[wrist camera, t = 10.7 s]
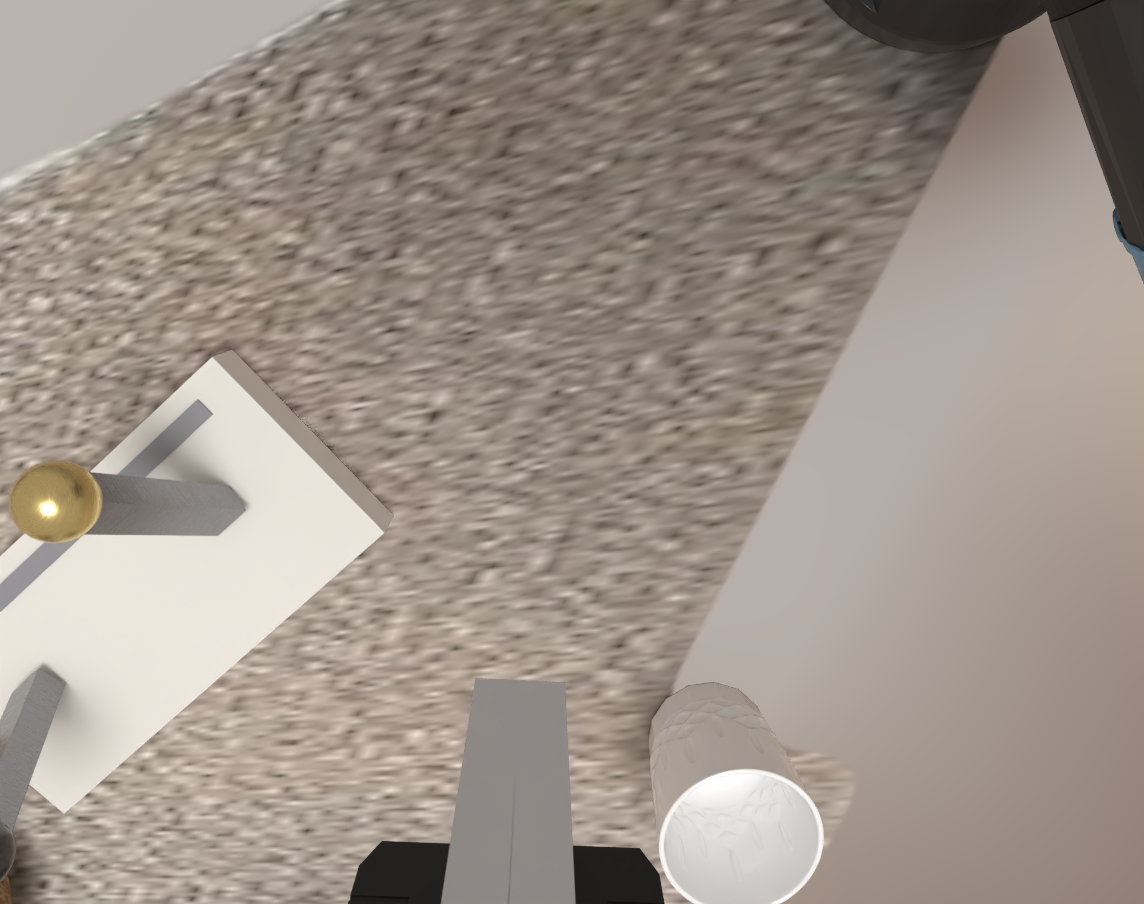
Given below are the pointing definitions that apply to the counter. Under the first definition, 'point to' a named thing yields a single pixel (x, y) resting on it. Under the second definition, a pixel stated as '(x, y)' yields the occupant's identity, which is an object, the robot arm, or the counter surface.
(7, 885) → the natural sponge
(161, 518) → the brass lever
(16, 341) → the counter surface
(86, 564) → the control panel
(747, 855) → the white cup
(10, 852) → the black lever
